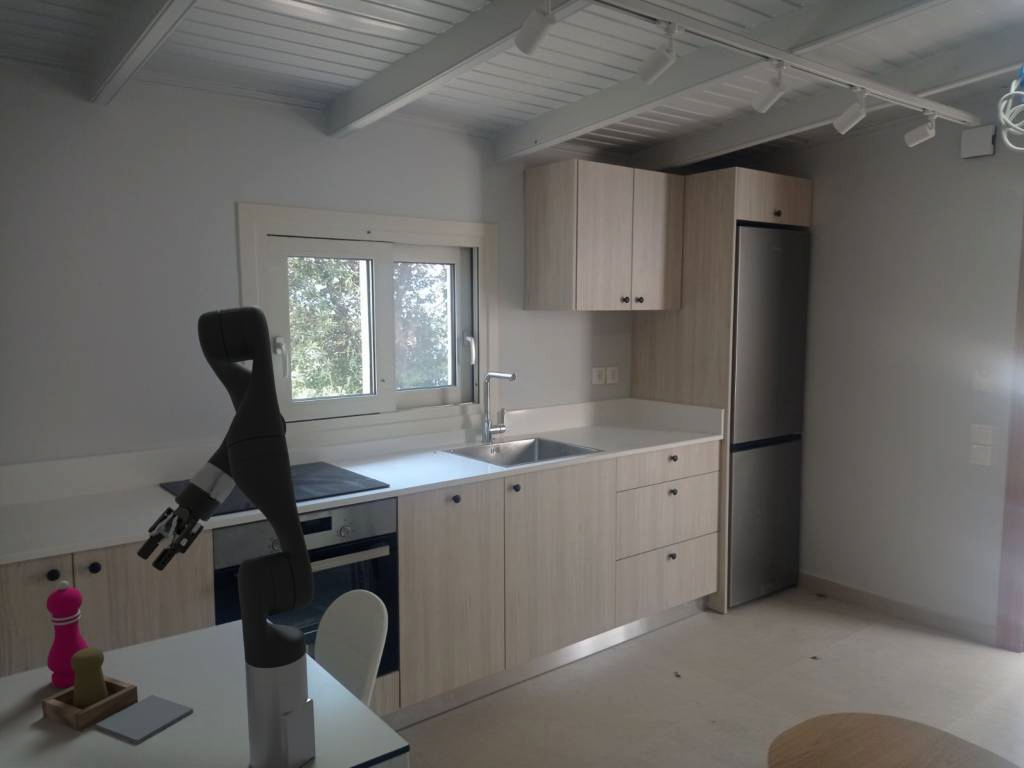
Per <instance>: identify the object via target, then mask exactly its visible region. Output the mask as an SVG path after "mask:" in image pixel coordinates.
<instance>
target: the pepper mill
mask: <svg viewBox="0 0 1024 768" xmlns="http://www.w3.org/2000/svg"><path fill="white" fill-rule="evenodd" d="M69 584H70V583H69V582H68V581H67V580H61V581H59V583H58V584H57V587H58V589H56V590H53V591H52V592H51V593H50V594H49V596H48V597H47V599H46V603H45V605H46V609H47V611H48V613H50V614H51V615H50V619H51V620H50V624H51V625H52V626H53V628H54V638H53V641H52V645H51V647H50V649H49V652H48V656H47V658H46V659H47V661H46V662H47V663H46V665H47V667H48V670H50V671H51V672H52V674H51V685H52V687H54V688H58V689H64V688H70V687H72V686H74V681H75V671H74V670H73V669H72V667H71V659H72V657H73V655H74V654H75V653H76V652H78V651H80V650H82V649H85V648H90V647H89V645H88V643H87V642H86V641H85V639H84V638H83V636H82V634H81V630H80V627H79V620H80V619H81V617H82V615H81V613H82V612H81V611H82V610H81V609H79V608H81V606H82V604H83V595H82V593H81V591H80V590H79V589H77V588H75V587H71V586H69Z"/></svg>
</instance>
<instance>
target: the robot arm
mask: <svg viewBox="0 0 1024 768" xmlns="http://www.w3.org/2000/svg"><path fill="white" fill-rule="evenodd" d="M197 334H198V335H197V336H198V342H199V345H200V348H201V351H202V354H203V356H204V358H205V360H206V362H207V364H208V365H209V366H210V368H211V369H212V371H213V372H214V374H215V375H216V377H217V379H218V380H219V381H220V382H221V384H222V385H223V387H224V388H225V390H226V391H227V393H228V395H229V397H230V401H231V403H232V405H233V408H234V411H235V414H234V416H233V418H232V421H231V423H230V425H229V428H228V430H227V431H226V434H225V436H224V438H223V440H222V442H221V443H220V445H219V447H218V449H216V451H215V452H214V453H213V454H212V455H211V456H210V458H209V459H208V460H207V462H206V463H205V464H203V465H202V467H201V468H200V469H198V471H196V473H194V475H193V476H192V477H191V478H190V480H189V481H188V482H187V483H186V485H185V486H184V487H183V488H182V489H181V490H180V492H179V493H178V494H177V496H176V497H175V498H174V502H175V503H176V504H177V505H178V507H176V509H173V508H172V507H171V506H168V507H166V509H165V510H164V511H163V513H161V515H160V516H159V517H158V518H157V519H156V521H154V523H153V524H152V525H151V526H150V527H149V528H148V530H147V533H149V535H148V537H149V538H147V539H146V541H145V542H144V543H143V544H142V546H141V547H140V548H139V550H137V552H136V555H137V556H138V557H139V558H141V559H143V560H148V559H149V558H150V556H152V554H153V553H154V552H155V550H156V549H157V547H159V546H160V544H161V543H163V542H164V541H165V540H168V541H167V543H166V546H165V547H164V548H163V549H162V550H161V551H160V553H159V554H158V555H157V557H156V558H155V559H154V560H153V562H152V563H151V566H152V567H153V568H155V569H156V570H158V571H160V572H162V571H163V570H165V568H166V567H167V566H168V564H169V563H170V562H171V561H172V559H173V558H174V557H175V556H176V555H179V554H182V555H184V554H185V553H186V552H187V551H188V550H189V548H190V547H191V546H192V544H193V543H194V542H195V541H196V539H197V538H198V536H199V535H200V534H201V532H202V531H203V530H204V529H205V528H204V527H205V526H204V525H202V524H201V523H199V521H202V522H205V523H206V522H209V520H210V519H211V518H212V516H213V515H214V514H215V513H216V512H217V510H218V509H219V508H220V506H221V505H222V504H223V503H224V502H225V500H226V499H227V498H228V496H229V495H230V494H231V492H232V491H233V489H234V488H235V486H237V487H238V489H239V490H240V491H241V493H242V494H243V495H244V496H245V497H246V498H247V499H248V500H249V501H250V503H252V504H253V505H254V507H255V508H256V509H258V510H259V511H260V513H262V515H263V516H264V517H265V519H266V520H267V521H268V522H269V524H270V525H271V527H272V528H273V530H274V532H275V536H276V537H277V539H278V542H279V545H280V548H281V549H280V550H281V552H275V553H269V554H268V553H267V554H264V555H259V556H258V555H257V556H253V557H250V558H246V559H244V560H243V561H242V562H241V563H240V565H239V568H238V573H237V591H238V598H239V599H238V600H239V605H240V615H241V617H240V618H241V627H242V640H243V641H242V642H243V649H244V650H243V651H244V666H245V688H246V689H245V690H246V709H247V722H248V723H247V724H248V725H247V726H248V729H247V730H248V745H249V762H250V763H249V764H250V768H301V767H302V766H304V765H305V764H307V762H309V761H310V760H311V759H313V757H315V756H316V752H317V751H316V735H315V733H316V732H315V729H316V728H315V710H314V707H315V706H314V699H313V698H310V697H309V693H308V692H309V688H308V687H309V686H308V683H309V682H308V666H307V665H308V663H307V662H308V660H307V645H306V644H307V640H306V639H307V638H306V636H305V633H304V632H303V631H302V630H301V629H299V628H297V627H295V626H291V625H284V624H283V625H282V624H275V623H272V622H268V617H270V616H271V617H272V616H275V615H279V614H283V613H287V612H293V611H297V610H301V609H304V608H307V607H309V606H310V605H311V604H312V602H313V600H314V598H315V597H314V595H315V580H314V579H315V578H314V574H313V568H312V564H311V559H310V554H309V550H308V548H307V543H306V539H305V535H304V532H303V527H302V524H301V520H300V515H299V510H298V505H297V501H296V495H295V490H294V484H293V476H292V470H291V462H290V461H291V460H290V455H289V450H288V442H287V438H286V433H287V424H286V419H285V418H284V416H283V414H282V412H281V410H280V405H279V401H278V395H277V389H276V380H275V372H274V364H273V355H272V348H271V347H272V345H271V338H270V331H269V326H268V320H267V318H266V315H265V313H264V311H263V310H262V308H261V307H260V306H258V305H255V304H254V305H243V306H236V307H230V308H229V307H228V308H223V309H216V310H210V311H207V312H203V313H202V314H201V315H200V316H199V318H198V320H197ZM246 361H252V366H251V368H249V366H246V365H243V364H242V363H241V362H246Z"/></svg>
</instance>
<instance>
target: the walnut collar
mask: <svg viewBox="0 0 1024 768" xmlns="http://www.w3.org/2000/svg"><path fill="white" fill-rule="evenodd" d="M103 676H104V681H105V685H106V689H107V693H108V697H107V698H105V699H103V700H101V701H99V702H97V703H95V704H93V705H91V706H89V707H87V708H85V709H83V710H81V709H79V708H76V707H73V695H74V686H71V687H67V688H66V689H63V690H61V691H60V692H57V693H55V694H53V695H51V696H49V697H46V698H44V699H42V700H41V706H42V717H43V718H46V719H49V720H51V721H53V722H56V723H59V724H62V725H63V726H66V727H69V728H70V729H74V730H76V731H78V732H83V731H85V730H87V729H88V728H91V727H93V726H94V725H95V724H97V723H99V722H101V721H103V720H105V719H106V718H108V717H110V716H112V715H114V714H116V713H118V712H120V711H122V710H124V709H126V708H128V707H129V706H131V705H133V704H135V703H137V702H139V697H138V696H139V695H138V686H137V685H135V684H131V683H129V682H125V681H122V680H119V679H116V678H113V677H111V676H107V675H104V674H103ZM95 726H96V725H95Z"/></svg>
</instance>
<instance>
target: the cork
mask: <svg viewBox="0 0 1024 768" xmlns="http://www.w3.org/2000/svg"><path fill="white" fill-rule="evenodd" d="M104 661H105V653H104V651H103V650H102V649H101V648H98V647H89V648H85V649H82V650H80V651H78V652H76V653H75V654H74V655H73V657H72V659H71V667H72V669H73V670H74V671H75V681H74V695H73V707H76V708H79V709H81V710H83V709H85V708H87V707H89V706H91V705H93V704H95V703H97V702H99V701H101V700H103V699H105V698H107V697H108V693H107V689H106V685H105V681H104V676H103V675H104V672H103V669H102V666H103V663H104Z"/></svg>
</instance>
